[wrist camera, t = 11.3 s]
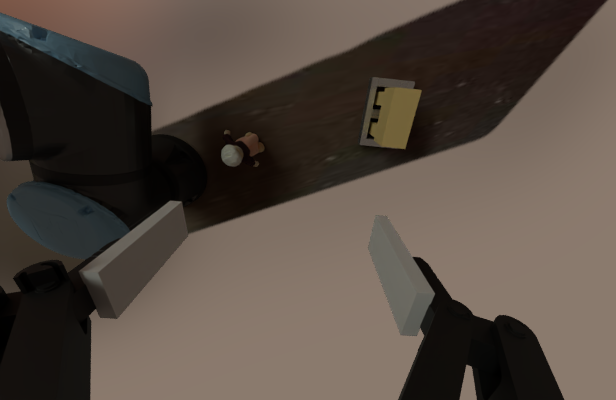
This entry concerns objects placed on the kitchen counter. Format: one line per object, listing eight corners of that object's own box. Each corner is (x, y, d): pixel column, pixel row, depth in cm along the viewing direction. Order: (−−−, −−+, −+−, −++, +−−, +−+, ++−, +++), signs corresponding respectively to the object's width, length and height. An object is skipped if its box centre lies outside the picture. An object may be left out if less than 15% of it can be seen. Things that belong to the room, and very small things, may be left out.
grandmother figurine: (273, 146, 44) (258, 164, 33) (262, 161, 46) (244, 183, 34) (240, 120, 43) (211, 129, 31) (229, 136, 44) (199, 150, 32)
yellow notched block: (367, 135, 43) (381, 146, 34) (377, 88, 40) (395, 87, 31) (386, 137, 43) (405, 149, 34) (397, 91, 40) (421, 90, 31)
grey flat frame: (357, 142, 44) (359, 144, 42) (369, 78, 39) (372, 77, 37) (393, 146, 44) (397, 148, 42) (410, 82, 39) (415, 81, 37)
